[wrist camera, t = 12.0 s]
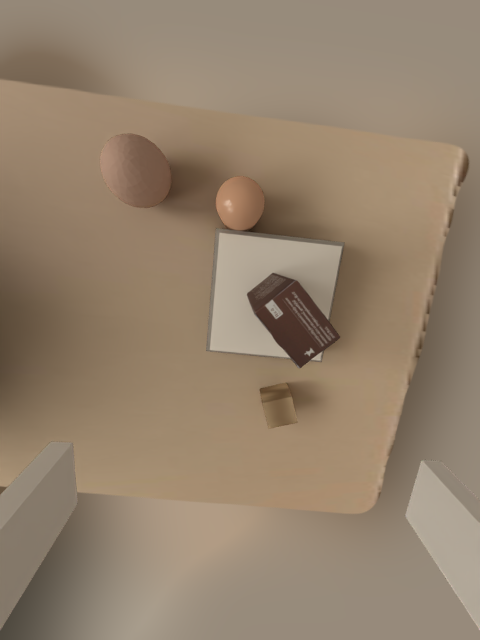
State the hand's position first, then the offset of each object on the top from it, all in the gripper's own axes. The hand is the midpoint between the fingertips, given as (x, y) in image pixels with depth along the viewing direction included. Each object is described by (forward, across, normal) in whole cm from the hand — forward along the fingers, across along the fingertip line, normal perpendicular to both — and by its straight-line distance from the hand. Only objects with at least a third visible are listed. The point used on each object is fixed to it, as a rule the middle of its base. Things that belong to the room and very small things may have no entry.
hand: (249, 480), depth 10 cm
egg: (+28, -12, +16) cm, 34 cm away
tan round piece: (+27, -1, +13) cm, 30 cm away
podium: (+27, +4, +3) cm, 28 cm away
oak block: (+27, +7, -12) cm, 30 cm away
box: (+23, +4, +3) cm, 24 cm away
